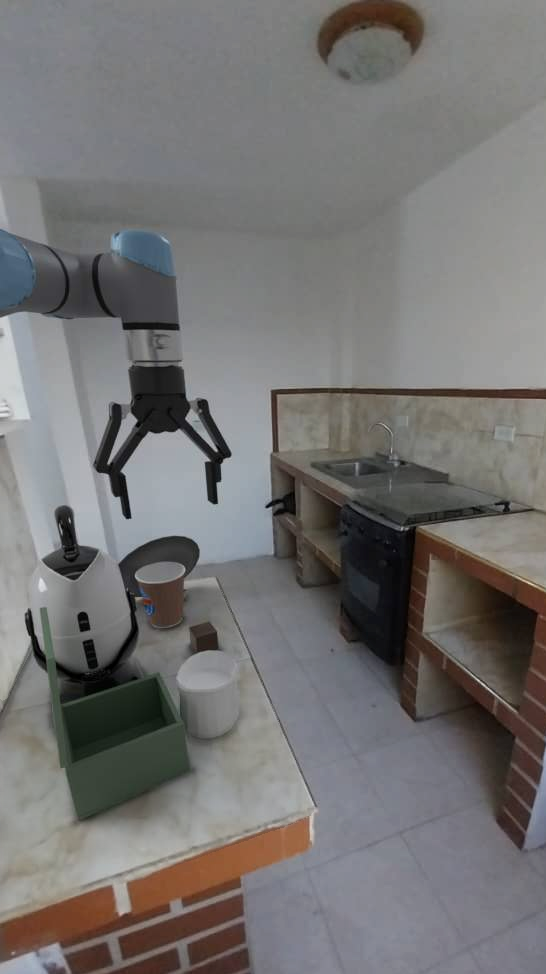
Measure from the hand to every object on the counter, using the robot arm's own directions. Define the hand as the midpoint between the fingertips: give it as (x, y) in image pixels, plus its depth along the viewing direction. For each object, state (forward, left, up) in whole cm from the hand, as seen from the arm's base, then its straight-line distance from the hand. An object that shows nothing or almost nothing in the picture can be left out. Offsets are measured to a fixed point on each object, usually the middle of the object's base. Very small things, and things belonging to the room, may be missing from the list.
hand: (172, 509), depth 72 cm
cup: (+12, -1, -33) cm, 35 cm away
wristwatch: (-31, +5, -32) cm, 45 cm away
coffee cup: (-21, +2, -32) cm, 39 cm away
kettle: (-4, -15, -33) cm, 36 cm away
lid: (+14, -20, -16) cm, 29 cm away
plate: (-28, +3, -24) cm, 37 cm away
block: (-7, +5, -32) cm, 34 cm away
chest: (+14, -14, -32) cm, 38 cm away
